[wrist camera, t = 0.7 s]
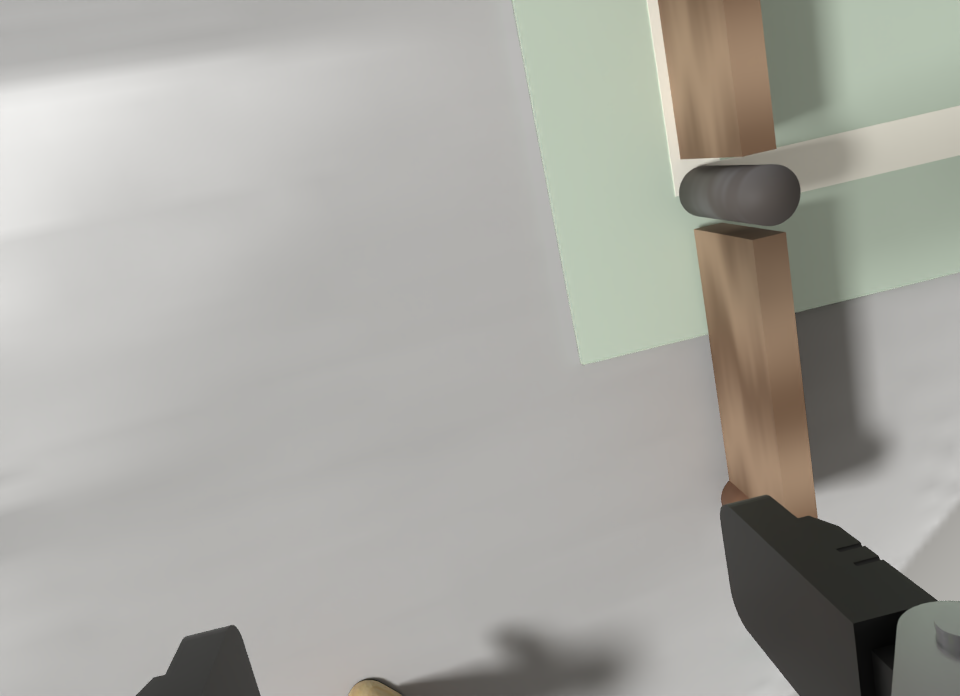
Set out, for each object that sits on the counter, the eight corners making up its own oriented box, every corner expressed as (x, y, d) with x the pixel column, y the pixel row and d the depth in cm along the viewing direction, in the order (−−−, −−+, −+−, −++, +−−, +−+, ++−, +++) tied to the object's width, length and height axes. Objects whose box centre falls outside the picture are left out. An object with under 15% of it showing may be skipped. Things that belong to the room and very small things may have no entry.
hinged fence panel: (673, 172, 29) (736, 172, 24) (725, 160, 30) (800, 157, 24) (724, 523, 33) (788, 590, 28) (770, 511, 34) (843, 575, 28)
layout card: (462, -259, 26) (464, -267, 25) (1024, -364, 27) (1035, -373, 27) (580, 362, 32) (583, 365, 31) (1039, 249, 33) (1048, 251, 33)
